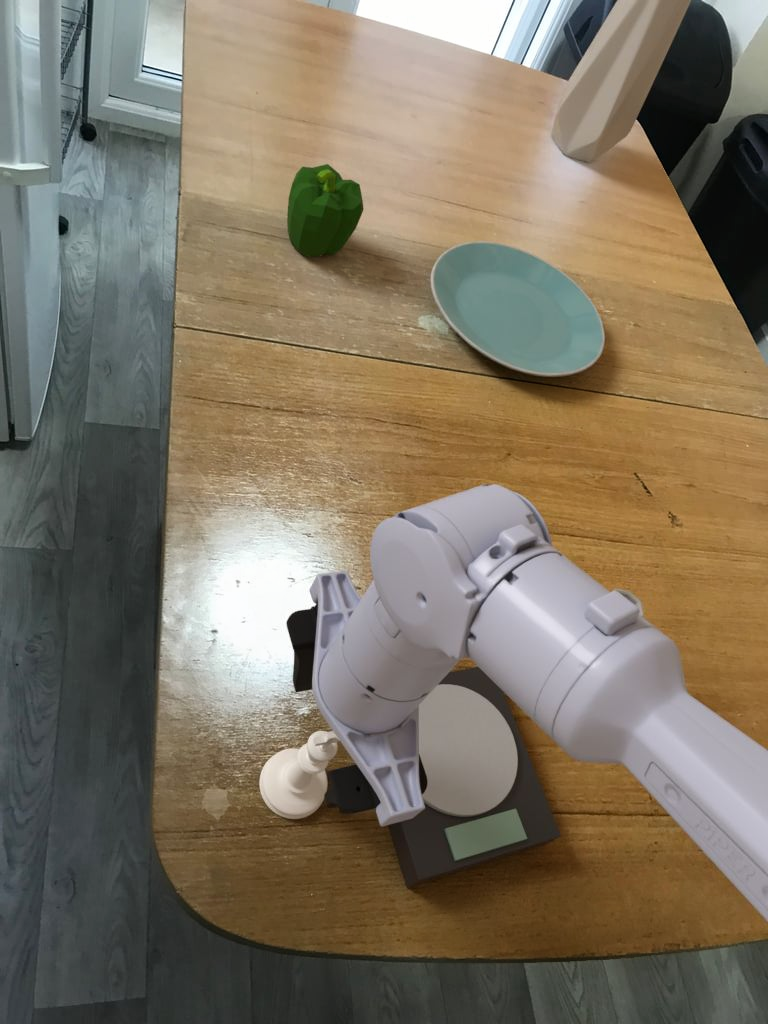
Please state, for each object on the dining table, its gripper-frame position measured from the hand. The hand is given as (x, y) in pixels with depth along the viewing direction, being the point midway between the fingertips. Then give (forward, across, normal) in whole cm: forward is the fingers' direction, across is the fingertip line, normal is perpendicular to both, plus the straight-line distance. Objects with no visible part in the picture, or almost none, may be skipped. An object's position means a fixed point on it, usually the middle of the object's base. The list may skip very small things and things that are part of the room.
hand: (324, 740), depth 54 cm
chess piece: (+9, 0, 0) cm, 9 cm away
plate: (+9, +47, -40) cm, 62 cm away
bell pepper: (+9, +59, -18) cm, 62 cm away
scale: (+8, -2, -12) cm, 15 cm away
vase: (+9, +86, -69) cm, 111 cm away
